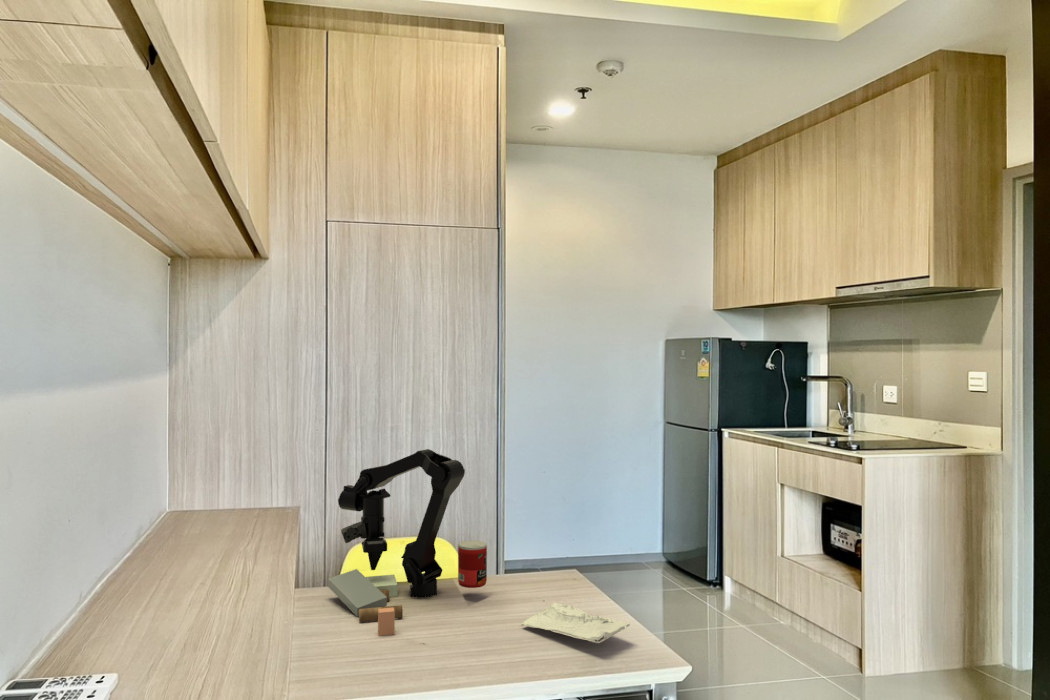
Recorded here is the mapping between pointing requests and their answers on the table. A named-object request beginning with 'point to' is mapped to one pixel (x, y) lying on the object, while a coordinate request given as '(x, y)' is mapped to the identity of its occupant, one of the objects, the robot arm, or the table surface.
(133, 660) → the table surface
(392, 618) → the orange upright block
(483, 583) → the canned food
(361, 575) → the slab
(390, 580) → the block
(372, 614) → the roller
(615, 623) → the terrain model
